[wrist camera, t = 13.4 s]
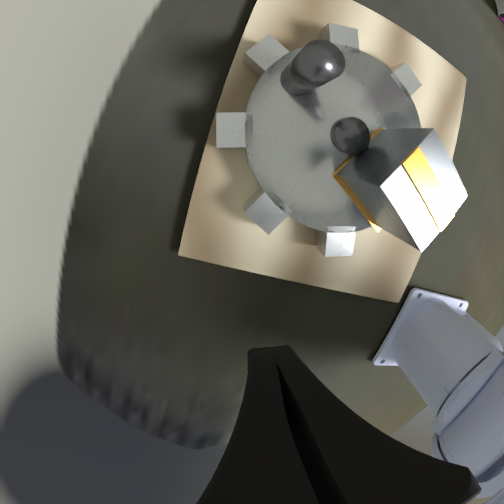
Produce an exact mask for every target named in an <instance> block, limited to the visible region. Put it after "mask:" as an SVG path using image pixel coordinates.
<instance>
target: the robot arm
mask: <svg viewBox="0 0 504 504" xmlns="http://www.w3.org/2000/svg"><path fill="white" fill-rule="evenodd" d="M418 294H419V295H418ZM417 295H418V296H417ZM467 307H468V302H467V301H466V300H462V299H458V298H455V297H451V296H447V295H443V294H439V293H435V292H431V291H427V290H423V289H419V288H413V289H412V290H411V291H410V292H409V294H408V297H407V299H406V301H405V303H404V305H403V307H402V309H401V310H400V312H399V314H398V316H397V318H396V320H395V322H394V324H393V326H392V327H391V329H390V331H389V333H388V335H387V336H386V338H385V340H384V342H383V343H382V345H381V347H380V348H379V350H378V352H377V353H376V355H375V357H374V358H373V360H372V362H373V363H374V365H391V366H399V367H400V368H401V369H402V371H403V372H404V373H405V375H406V376H407V378H408V379H409V380H410V382H411V383H412V384H413V386H414V387H415V389H416V390H417V391H418V393H419V394H420V396H421V397H422V398H423V400H424V401H425V403H426V404H427V406H428V407H429V408H430V410H431V411H432V413H433V414H434V416H435V417H436V419H435V420H434V421H433V422H432V423H431V426H432V427H433V429H434V430H435V431H436V433H435V434H434V435H433V437H432V440H431V452H432V456H429V455H426V454H424V453H421V452H419V451H417V450H414V449H412V448H411V447H409V446H407V445H405V444H403V443H401V442H399V441H397V440H395V439H393V438H391V437H390V436H388V435H386V434H385V433H383V432H382V431H380V430H378V429H377V428H375V427H374V426H372V425H371V424H369V423H368V422H367V421H365V420H364V419H362V418H361V417H360V416H358V415H357V414H356V413H355V412H353V411H352V410H351V409H350V408H348V407H347V406H346V405H345V404H344V403H343V402H342V401H340V400H339V399H338V398H337V397H336V396H335V395H334V394H333V393H332V392H331V391H330V390H329V389H328V388H327V387H326V386H325V385H324V384H323V383H322V382H321V381H320V380H319V379H318V378H317V377H316V376H315V375H314V374H313V373H312V372H311V371H310V369H309V368H308V367H307V366H306V365H305V364H304V362H303V361H302V360H301V359H300V358H299V356H298V355H297V354H296V353H295V351H294V350H293V349H292V348H291V347H290V346H289V345H286V346H276V347H266V348H254V349H250V350H249V351H248V376H247V382H246V387H245V392H244V397H243V401H242V405H241V408H240V411H239V415H238V418H237V422H236V425H235V427H234V430H233V433H232V436H231V438H230V441H229V443H228V445H227V448H226V450H225V453H224V455H223V457H222V459H221V461H220V463H219V465H218V467H217V469H216V471H215V473H214V475H213V477H212V479H211V481H210V482H209V484H208V486H207V488H206V489H205V491H204V492H203V494H202V496H201V497H200V499H199V501H198V502H197V504H466V503H467V502H468V501H470V500H471V499H473V498H474V497H476V498H484V497H490V496H493V497H491V498H490V499H489V500H488V501H487V502H485V503H484V504H504V352H503V349H502V347H501V344H500V342H499V341H498V340H497V339H496V338H495V337H494V336H493V335H492V334H491V333H490V332H489V331H487V330H486V329H485V328H484V327H483V326H482V325H480V324H479V323H478V322H477V321H476V320H475V319H473V318H472V317H471V316H470V315H469V314H467V313H466V312H465V311H466V309H467Z"/></svg>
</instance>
